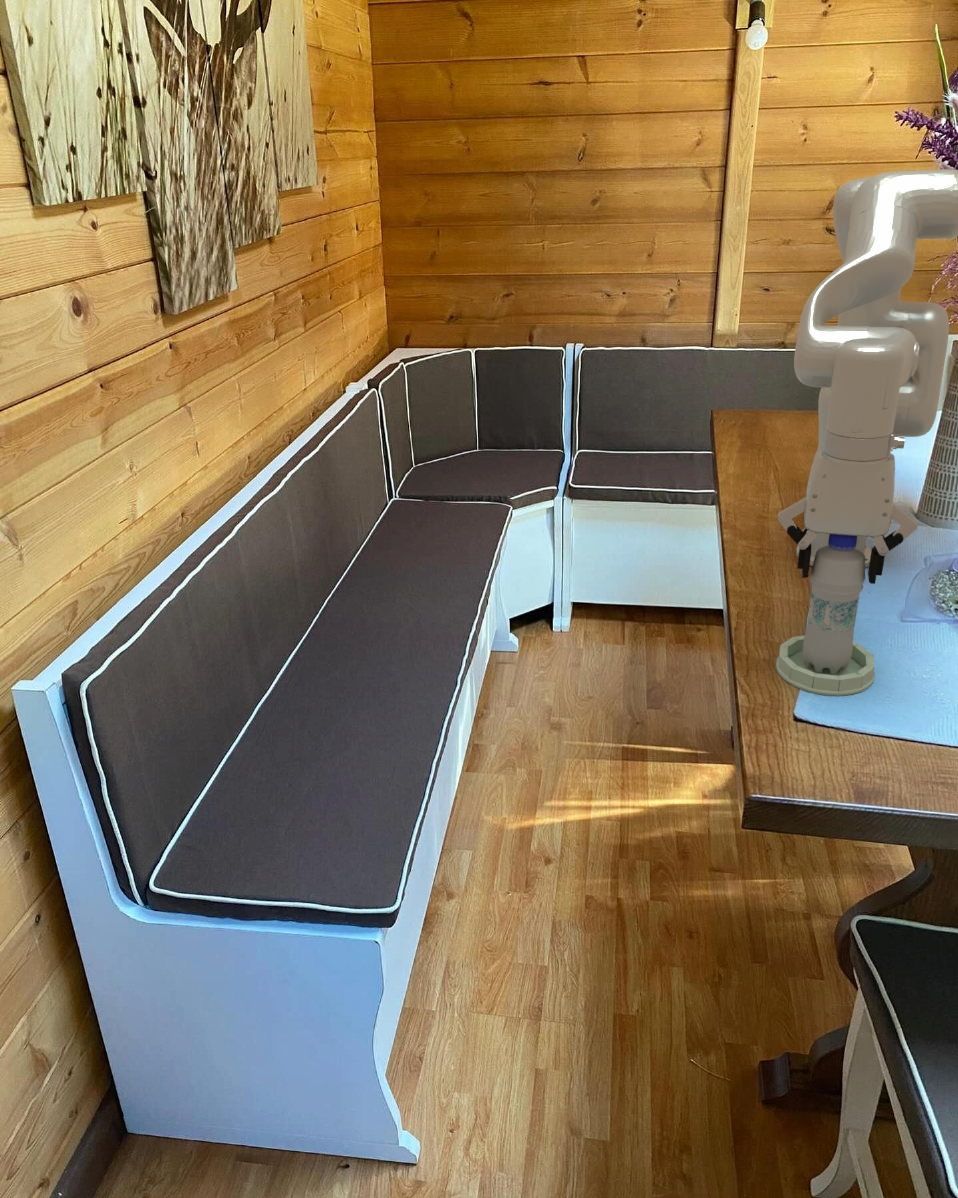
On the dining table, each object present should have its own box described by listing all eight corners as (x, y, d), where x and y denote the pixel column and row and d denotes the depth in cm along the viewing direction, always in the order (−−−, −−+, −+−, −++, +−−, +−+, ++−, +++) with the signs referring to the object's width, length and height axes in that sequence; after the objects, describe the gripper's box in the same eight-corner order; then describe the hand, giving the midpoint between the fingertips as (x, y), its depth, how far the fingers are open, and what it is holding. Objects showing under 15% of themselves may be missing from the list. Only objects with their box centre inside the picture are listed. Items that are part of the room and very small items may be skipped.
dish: (777, 643, 130) (779, 629, 129) (871, 654, 126) (873, 639, 125) (774, 688, 119) (776, 673, 118) (876, 701, 116) (879, 685, 115)
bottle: (809, 649, 127) (827, 516, 118) (858, 663, 123) (879, 526, 115) (791, 669, 122) (807, 532, 114) (840, 683, 118) (862, 542, 110)
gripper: (932, 439, 109) (908, 570, 117) (782, 432, 115) (769, 559, 122) (939, 457, 103) (913, 595, 111) (780, 450, 108) (766, 582, 116)
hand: (837, 575), depth 117 cm, fingers open, 7 cm apart
